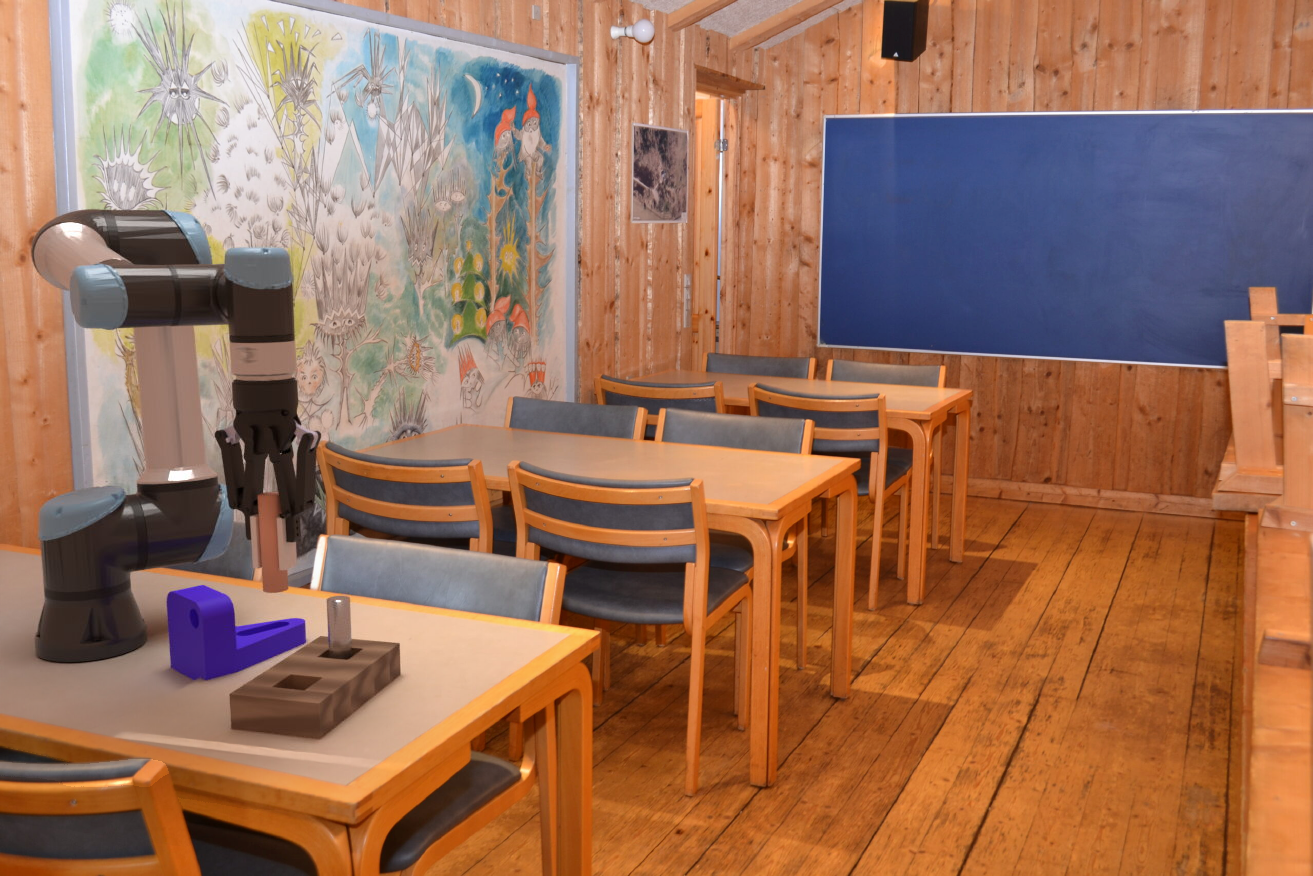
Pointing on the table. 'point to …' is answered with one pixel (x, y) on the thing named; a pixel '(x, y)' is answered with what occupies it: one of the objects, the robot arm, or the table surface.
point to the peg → (270, 543)
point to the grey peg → (339, 627)
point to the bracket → (221, 635)
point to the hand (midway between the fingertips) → (275, 566)
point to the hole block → (314, 689)
